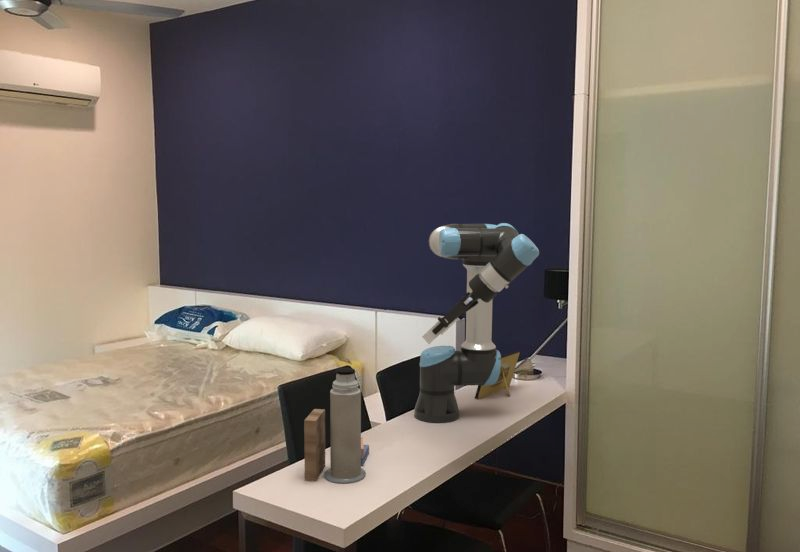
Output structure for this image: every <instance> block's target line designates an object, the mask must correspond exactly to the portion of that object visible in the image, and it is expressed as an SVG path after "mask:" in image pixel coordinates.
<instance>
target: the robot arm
mask: <svg viewBox="0 0 800 552" xmlns="http://www.w3.org/2000/svg"><path fill="white" fill-rule="evenodd" d="M428 247H429V249H430V251H432V253H433V254H434V255H436V256H438V257H440V258H444V259H448V260H462V266H463V267H464V268H465V269H466V293H465V294H464V295H463V296H462V297H461V299H459V300H458V301H457V303H455V306H454V307H452V308H451V309H450V310H449V311H448V312H447V313H446V314H445V315H444V316H443V317H440V316H439V317H438V318H437V320H438V321H437V322H436V323H435V324H434V325H433V326H432V327H431V328H430V329H429V330H428V331H426V333H424V334H423V335H422V336H421V338H423V340H424V341H425V342H426V343H427V344H428V345H430V344H431V343H432V342H433V341H434V340H435V339H437V338H438V337H439V336H442V335H443V334H444V333H446V332H447V331H448V330H449V329H450V328H451V327H452V326H453V325H454V324H456V322H458V320H460V321H462V320H463V319H464V317H463V316H464V315H465V314H466V316H465V319H466V321H465V341H463V343H461V345H460V350H456V348H455V347H454V346H452V345H436V346H431V347H428V348H426V349H424V350H422V351H421V353H420V359H419V395H418V398H417V401H416V402H415V407H414V411H413V413H414V417H415V418H416V419H417V420H420V421H423V422H427V423H435V424H436V423H440V424H441V423H450V422H453V421H456V420H457V419H459V418H460V408H459V404H458V401H457V399H456V395H455V387H458V386H459V387H460V386H461V387H462V386H463V387H464V386H478V385H481V386H484V385H492V384H494V383H496V381H497V380H498V377H499V374H500V369H501V356H502V354H501V352H500V350H498V349H497V347H496V346H497V345H495V343H494V342H493V340H492V338H493V337H492V334H493V333H492V331H493V329H492V328H493V300H494V298H495V297H497V295H498V293H500V292H501V291H502V290H503V289H504V288H505V289H508V288H509V287H510V286H509V284H510V283H511V282H512V281H514V279H516V278H517V277H518V276H519V275H520V274H521V273H522V272H523V271H525V270H526V269H527V268H528V267H529V266H531V265H532V264H533V262H534V261H535V260H536V258H538V257H539V255H540V250H539V248H538V247H537V246H536V244H535V243H534V242H533V241H532V240H531V239H530V238H529V237H528V236H527V235H525V234H523V233H520V234H519V232H518V230H517V229H516V228H515V227H514V226H513V225H511V224H510V223H506V222H501V223H498V224H491V223H450V224H446V225H441V226H439V227H437V228H435V229H434V230H433V231H432V232H430V235H429V238H428Z"/></svg>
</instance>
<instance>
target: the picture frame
mask: <svg viewBox="0 0 800 552" xmlns="http://www.w3.org/2000/svg"><path fill="white" fill-rule="evenodd" d="M520 353H521V351H518V350H517V351H514V352H511V353H507V354H504V355H501V369H500V374H499V377H498V380H497V381H496V383H494V384H492V385H484V386H481V385H477V389H476V392H475V395H474V399H476V400H479V399H480V400H481V399H482V398H485V397H487V396H490V395H492V394H495V393H497V392H499V391H501V390H502V391H503V390H505V389H506V392H507V394H508V396H509V398H510V397H511V393H510V392H511V391H510V389H509V388H510V386H511V382H512V380H513V377H514V373H515V370H516V367H517V363H518V360H519V356H520Z"/></svg>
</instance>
